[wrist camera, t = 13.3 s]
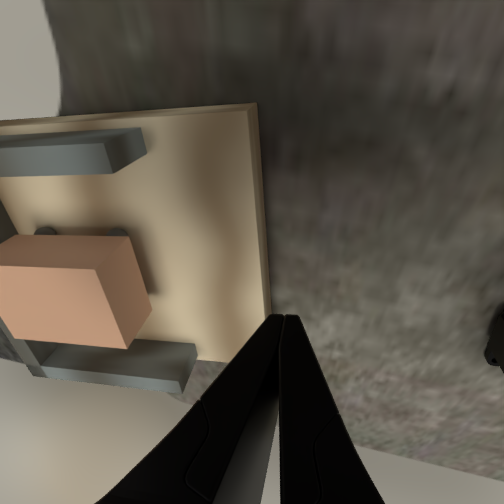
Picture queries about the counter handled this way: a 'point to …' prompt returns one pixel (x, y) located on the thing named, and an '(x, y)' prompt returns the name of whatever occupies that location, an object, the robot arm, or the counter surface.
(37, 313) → the tan cardboard-like brick
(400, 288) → the counter surface
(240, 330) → the dock
